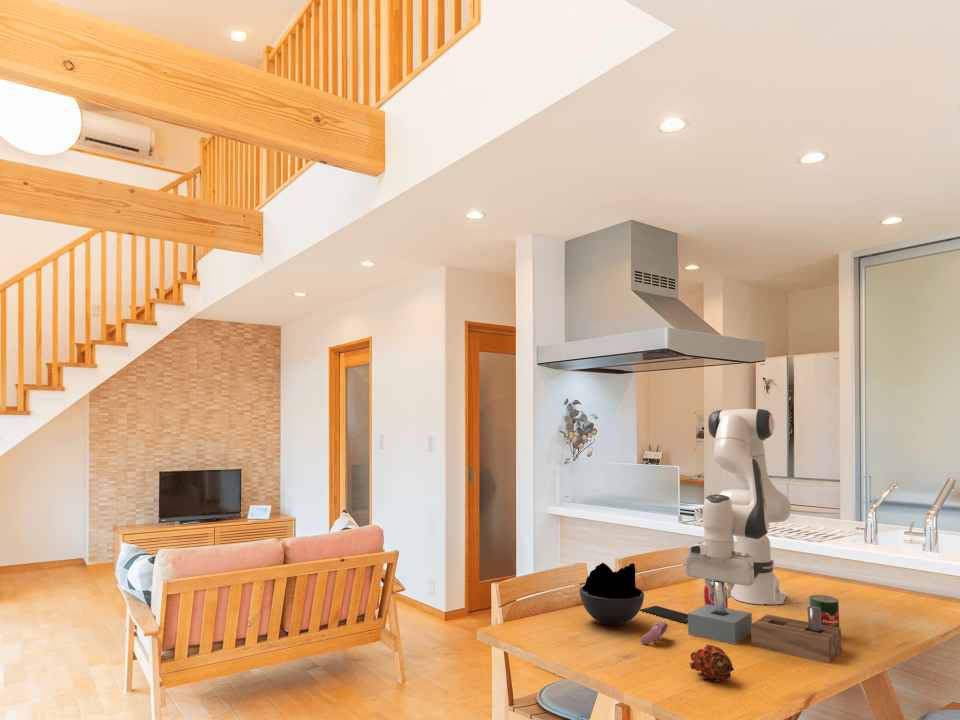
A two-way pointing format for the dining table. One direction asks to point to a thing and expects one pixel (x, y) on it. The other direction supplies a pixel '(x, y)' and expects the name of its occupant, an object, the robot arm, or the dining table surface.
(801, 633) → the rack
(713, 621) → the socket block
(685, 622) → the cell phone
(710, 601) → the soda can
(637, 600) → the coal bowl
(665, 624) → the pink curved piece
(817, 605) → the canned tomato
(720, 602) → the long rounded cylinder
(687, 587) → the dining table surface
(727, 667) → the dragon fruit
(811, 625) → the dark grey rounded rod
